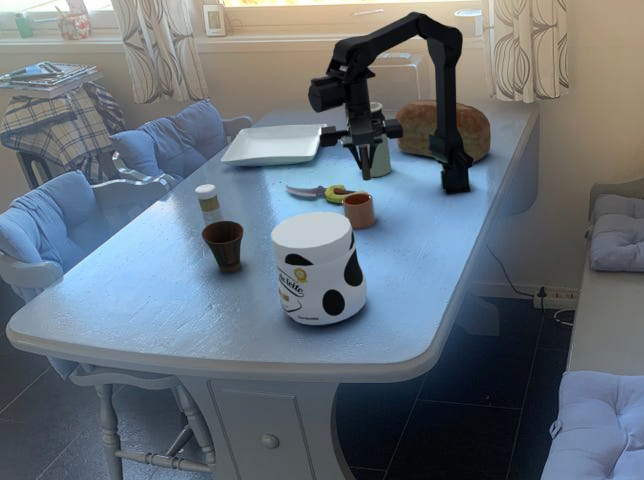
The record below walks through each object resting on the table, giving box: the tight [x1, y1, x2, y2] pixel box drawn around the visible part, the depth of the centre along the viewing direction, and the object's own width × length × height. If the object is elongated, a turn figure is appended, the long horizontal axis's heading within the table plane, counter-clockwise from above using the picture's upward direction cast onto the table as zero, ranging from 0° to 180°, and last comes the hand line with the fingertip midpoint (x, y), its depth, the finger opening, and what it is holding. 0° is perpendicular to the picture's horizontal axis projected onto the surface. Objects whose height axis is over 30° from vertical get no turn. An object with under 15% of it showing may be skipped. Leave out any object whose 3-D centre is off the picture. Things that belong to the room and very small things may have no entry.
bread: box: [394, 99, 492, 163], centre depth 212 cm, size 12×28×14 cm, turn 59°
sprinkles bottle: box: [194, 183, 225, 227], centre depth 178 cm, size 5×5×13 cm
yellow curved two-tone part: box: [285, 184, 369, 204], centre depth 197 cm, size 8×3×25 cm
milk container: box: [270, 211, 368, 328], centre depth 148 cm, size 17×17×18 cm
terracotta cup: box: [341, 193, 376, 230], centre depth 183 cm, size 7×7×6 cm
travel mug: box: [363, 101, 392, 178], centre depth 204 cm, size 8×8×18 cm
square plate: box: [220, 123, 329, 167], centre depth 225 cm, size 27×27×4 cm
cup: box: [201, 220, 245, 274], centre depth 166 cm, size 9×9×10 cm
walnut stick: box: [357, 145, 372, 182], centre depth 176 cm, size 2×2×8 cm
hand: (365, 168), depth 177 cm, fingers closed on walnut stick, 2 cm apart
